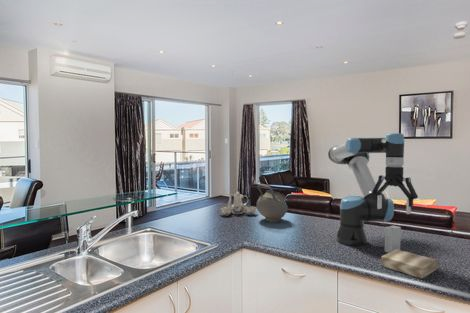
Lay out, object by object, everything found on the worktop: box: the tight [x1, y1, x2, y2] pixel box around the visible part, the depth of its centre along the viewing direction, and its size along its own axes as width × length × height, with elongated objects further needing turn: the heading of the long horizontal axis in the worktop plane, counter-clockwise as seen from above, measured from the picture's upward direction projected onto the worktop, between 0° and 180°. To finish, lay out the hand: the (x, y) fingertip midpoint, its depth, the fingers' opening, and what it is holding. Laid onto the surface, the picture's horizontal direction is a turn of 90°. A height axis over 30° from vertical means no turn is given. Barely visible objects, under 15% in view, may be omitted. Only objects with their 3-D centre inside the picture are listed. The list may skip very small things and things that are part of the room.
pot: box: [256, 183, 288, 223], centre depth 208 cm, size 21×21×25 cm
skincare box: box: [384, 225, 402, 254], centre depth 148 cm, size 6×4×12 cm
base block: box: [380, 249, 438, 279], centre depth 130 cm, size 16×14×4 cm
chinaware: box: [219, 190, 259, 217], centre depth 227 cm, size 28×17×17 cm, turn 102°
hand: (393, 211), depth 148 cm, fingers open, 13 cm apart
